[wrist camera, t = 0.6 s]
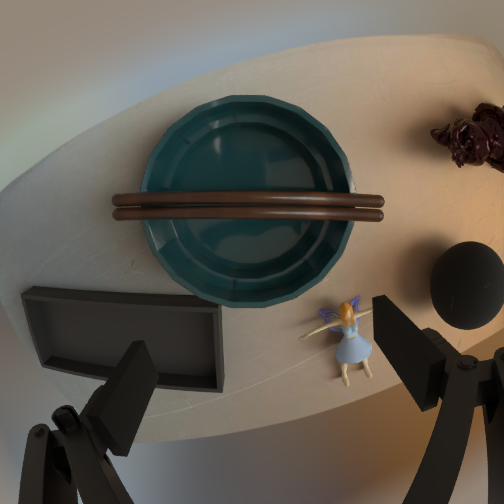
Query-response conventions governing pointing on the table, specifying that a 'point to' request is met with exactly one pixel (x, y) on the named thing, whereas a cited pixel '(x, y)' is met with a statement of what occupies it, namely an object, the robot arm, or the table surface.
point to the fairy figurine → (348, 338)
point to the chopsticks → (248, 210)
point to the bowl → (247, 178)
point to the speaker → (468, 285)
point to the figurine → (476, 138)
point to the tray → (128, 334)
